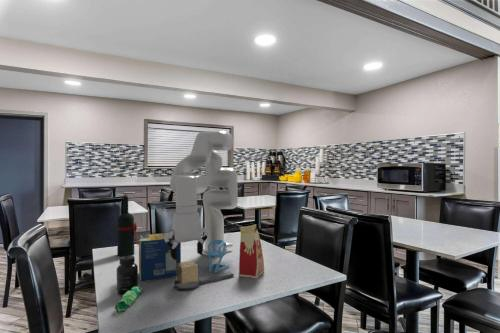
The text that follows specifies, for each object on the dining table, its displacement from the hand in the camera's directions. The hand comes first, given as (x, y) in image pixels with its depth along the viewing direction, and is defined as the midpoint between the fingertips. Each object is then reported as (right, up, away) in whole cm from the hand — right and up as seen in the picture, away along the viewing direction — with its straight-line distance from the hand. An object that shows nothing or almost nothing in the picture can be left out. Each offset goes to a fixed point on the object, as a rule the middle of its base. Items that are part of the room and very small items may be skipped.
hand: (187, 256), depth 109 cm
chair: (+9, -11, +17) cm, 22 cm away
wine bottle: (-38, -11, +39) cm, 55 cm away
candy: (-16, -11, -14) cm, 24 cm away
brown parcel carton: (0, -9, -1) cm, 9 cm away
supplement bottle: (-20, -11, -6) cm, 23 cm away
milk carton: (+23, -11, +12) cm, 28 cm away
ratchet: (+6, -10, +3) cm, 12 cm away
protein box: (-13, -11, +11) cm, 20 cm away
